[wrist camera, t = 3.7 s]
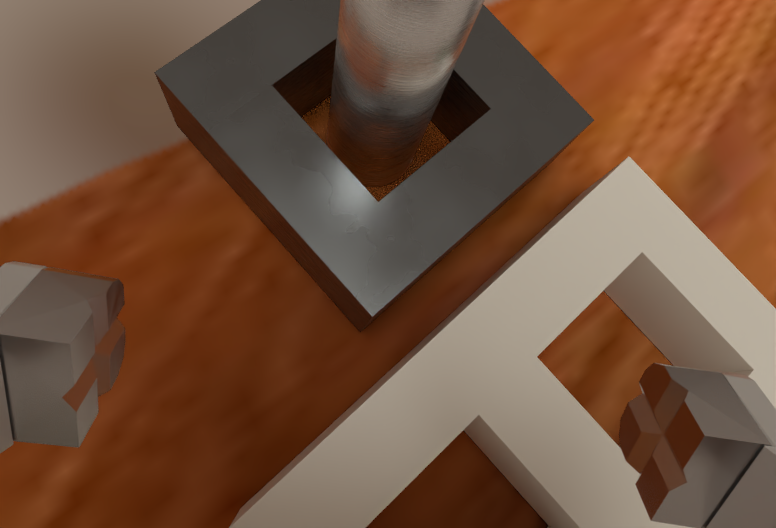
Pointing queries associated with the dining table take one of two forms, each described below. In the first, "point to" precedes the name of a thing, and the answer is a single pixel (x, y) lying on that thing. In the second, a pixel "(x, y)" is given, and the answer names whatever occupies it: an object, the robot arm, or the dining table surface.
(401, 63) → the pin
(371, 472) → the rack
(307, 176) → the socket block
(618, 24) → the dining table surface
